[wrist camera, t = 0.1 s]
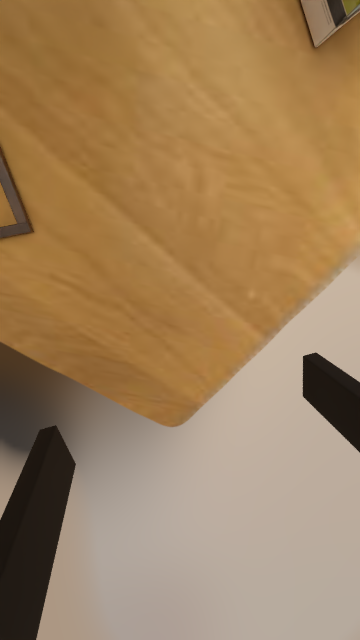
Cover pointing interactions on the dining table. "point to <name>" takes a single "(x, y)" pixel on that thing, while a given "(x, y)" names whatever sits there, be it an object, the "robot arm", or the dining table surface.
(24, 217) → the walnut frame
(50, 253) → the dining table surface
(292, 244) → the dining table surface
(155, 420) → the dining table surface
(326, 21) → the tea box
